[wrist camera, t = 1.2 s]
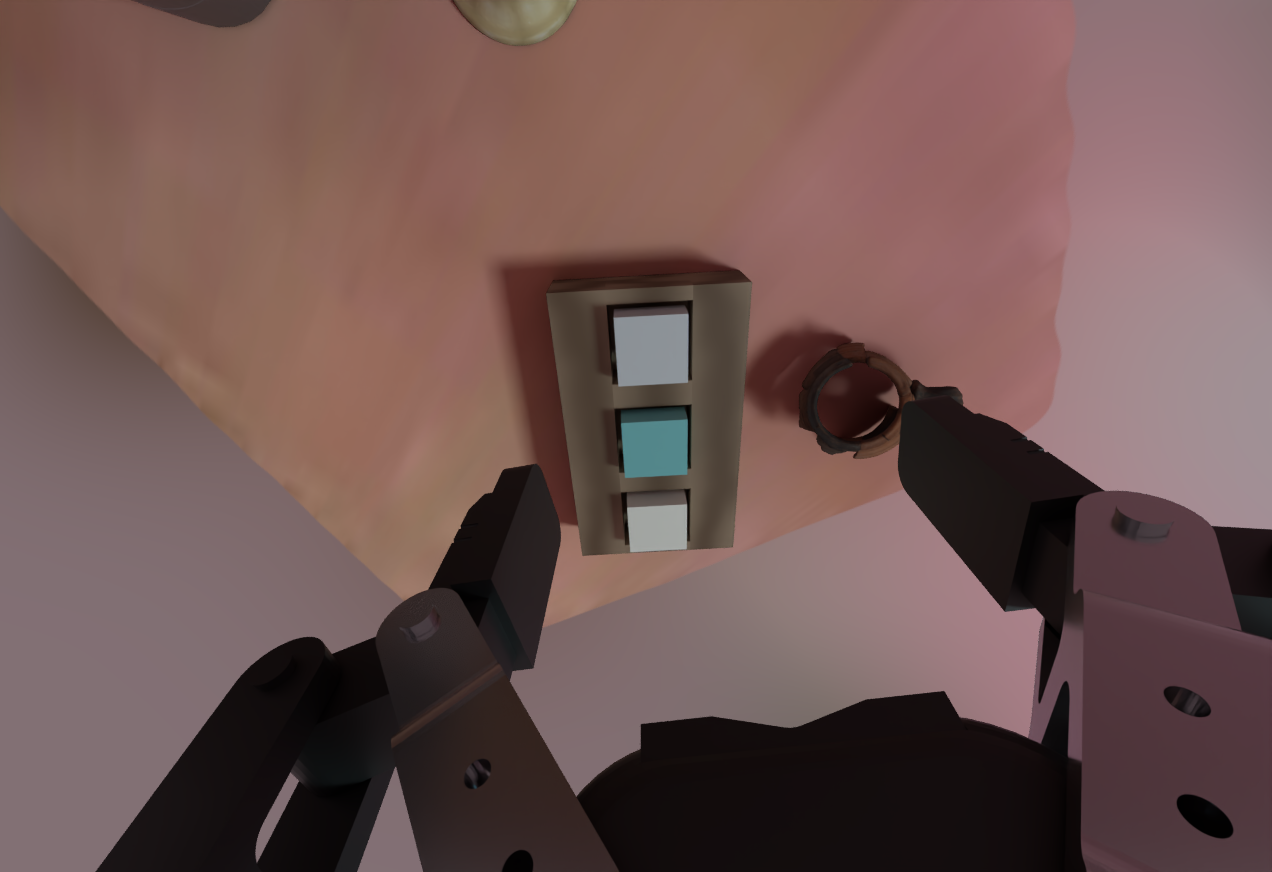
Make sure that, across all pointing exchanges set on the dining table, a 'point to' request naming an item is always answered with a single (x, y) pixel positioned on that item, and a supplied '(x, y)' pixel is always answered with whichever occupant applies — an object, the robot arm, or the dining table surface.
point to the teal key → (654, 441)
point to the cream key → (657, 520)
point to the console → (652, 400)
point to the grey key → (651, 345)
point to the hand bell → (516, 18)
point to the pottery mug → (889, 428)
